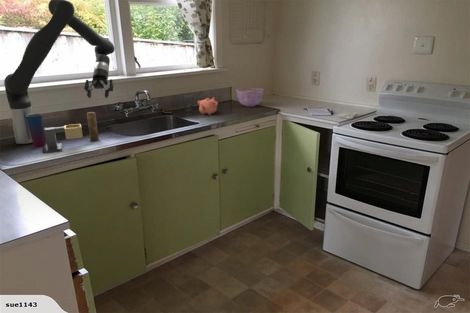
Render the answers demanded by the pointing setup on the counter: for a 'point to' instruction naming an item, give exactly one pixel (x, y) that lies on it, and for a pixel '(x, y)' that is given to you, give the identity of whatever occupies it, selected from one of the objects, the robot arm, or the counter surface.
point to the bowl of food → (249, 96)
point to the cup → (36, 129)
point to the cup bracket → (52, 145)
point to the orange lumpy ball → (207, 106)
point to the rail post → (92, 126)
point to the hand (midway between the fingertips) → (97, 97)
